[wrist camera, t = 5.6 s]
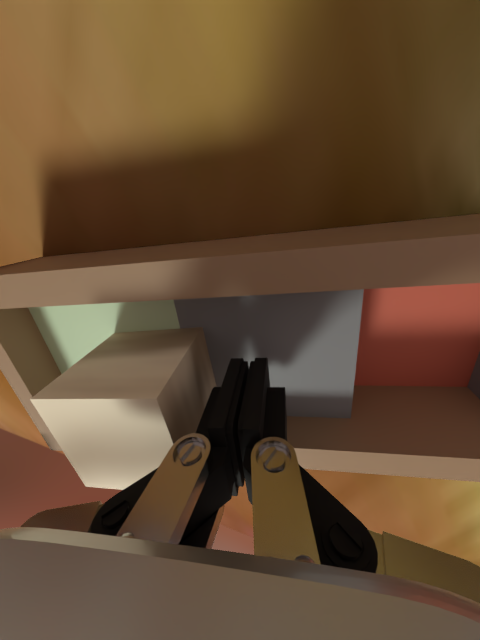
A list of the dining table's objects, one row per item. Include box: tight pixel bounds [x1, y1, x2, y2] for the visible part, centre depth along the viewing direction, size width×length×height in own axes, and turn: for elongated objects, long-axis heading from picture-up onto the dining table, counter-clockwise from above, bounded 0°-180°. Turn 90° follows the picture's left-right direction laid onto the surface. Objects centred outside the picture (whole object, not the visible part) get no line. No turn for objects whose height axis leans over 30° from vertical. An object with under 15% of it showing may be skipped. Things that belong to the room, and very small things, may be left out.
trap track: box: [0, 214, 480, 482], centre depth 12 cm, size 11×34×5 cm, turn 96°
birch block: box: [30, 327, 216, 490], centre depth 12 cm, size 5×5×5 cm
